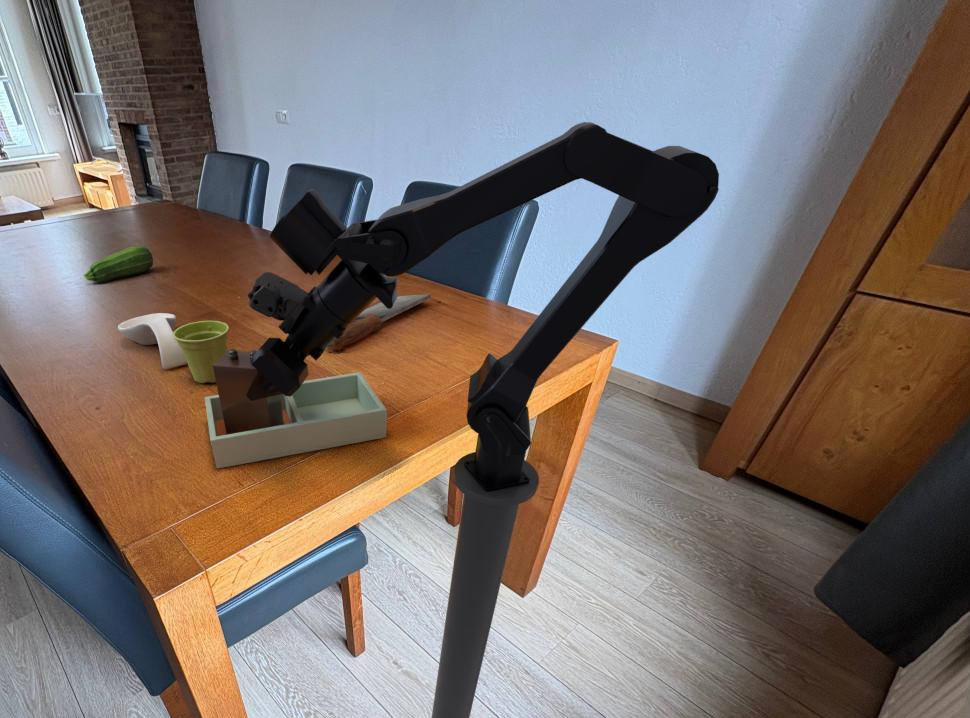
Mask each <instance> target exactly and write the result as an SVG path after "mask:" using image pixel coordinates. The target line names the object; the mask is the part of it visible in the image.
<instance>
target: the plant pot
mask: <svg viewBox="0 0 970 718" xmlns="http://www.w3.org/2000/svg"><path fill="white" fill-rule="evenodd" d="M229 331H230V327H229V325H228V324H227V323H226V322H223V321H220V320H219V321H218V320H201V321H195V322H189V323H186V324H183V325H181V326H179V327H178V328H176V329H174V330H173V337H174V339H176V340H177V342H178V344H179V346H180V347H181V348H182V350H183V353H184V355H185V358H186V360H187V363H186V364H187V366H188V368H189V371H190V373H191V376H192V378H193V380H194V381H195V382H197V383H199V384H205V383H212V384H214V383H216V379H215V374H214V370H213V365H214V364H215V363H216V362H217V361H218V360H219V359H220V358H221V357H222V356H223V355H224V354H225V353H226V352H227V351H228V350H227V340H228V332H229Z"/></svg>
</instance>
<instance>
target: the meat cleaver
mask: <svg viewBox="0 0 970 718" xmlns="http://www.w3.org/2000/svg"><path fill="white" fill-rule="evenodd" d="M431 297H432V294H431V293H425V294H413V295H412V294H411V295H397V299H396V301H395V303H394V305H393V307H392V308H391V309H388V308H386V307H385V305H384V304H383V303H382V302H381V301H380V302H379V303H376V304H374V305H371V306H370V307H367V308H366V309H365V310H364V311H363V312H362V313H361V314H360V315H359V316H358V317H357V318H356V319H355V320H354V321H353V322H352V323H351V324H350V325H349V326H348V327H347V329H346V330H345V332H344V333H343V335H342V336H341V337H340V338H339V339H337V338H336V339H335V340H334V341H333V342H332V343H331V344H330V345H329V346H328V347H327V348H328V350H330V351H335V352H339V351H341V350H342V349H343V347H346V346H350V345H351V344H353V343H355V342H357V341H359V340H361V339H363V338H365V337H367V336H368V335H370V334H371V333H376V332H377V331H379V329H380V327H381V325H382V323H383V322H385V321H387V320H389V319H392V318H393V317H396V316H397V315H399V314H402V313H404V312H406V311H408V310H409V309H412V308H413V307H416V306H418V305H420V304H422V303H424V302H426V301H428V300H430V299H432V298H431Z"/></svg>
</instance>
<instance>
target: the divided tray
mask: <svg viewBox="0 0 970 718" xmlns="http://www.w3.org/2000/svg"><path fill="white" fill-rule="evenodd" d="M280 396H281V404H282V412H283V420H284V425H280V426H274V427H268V428H262V429H257V430H251V431H245V432H239V433H234V434H228V435H227V433H226V428H225V424H224V419H223V414H222V409H221V404H220V399H219V394H214V395H209V396H204V403H205V410H206V419H207V424H208V432H209V433H208V434H209V439H210V440H209V441H210V444H211V449H212V454H213V458H214V462H215V466H216V469H222V468H223V469H224V468H227V467H234V466H240V465H244V464H250V463H255V462H256V463H257V462H261V461H266V460H272V459H277V458H282V457H289V456H291V455H292V456H293V455H299V454H305V453H309V452H315V451H320V450H324V449H330V448H336V447H341V446H347V445H353V444H357V443H363V442H368V441H374V440H378V439H380V440H381V439H384V438H387V429H388V426H387V425H388V423H387V422H388V409H387V408H386V406H385V405H384V403H383V402H382V401H381V399H380V397H378V395H377V393H376V392H375V391H374V389H373V388H372V387H371V385H370V384H369V383H368V381H367V379H366V378H365V377H364V376H363V374H362V372H360V371H359V372H353V373H345V374H340V375H333V376H328V377H321V378H316V379H309V380H305V381H304V382H303V384H302V385H301V387H300V388H299V389H298V390H297V391H296V392H295V393H294V394H293V395H292V396H291V397H289V396H285V395H284V394H280Z"/></svg>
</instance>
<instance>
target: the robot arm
mask: <svg viewBox="0 0 970 718" xmlns="http://www.w3.org/2000/svg"><path fill="white" fill-rule="evenodd" d="M581 179H582V180H584V181H587V182H590V183H592V184H594V185H596V186H598V187H599V188H602V189H604V190H607V191H609V192H611V193H613V194H615V195H617V198H616V200H615V202H614V204H613V206H612V208H611V210H610V213H609V216H608V218H607V220H606V223H605V224H604V227H603V229H602V232H601V234H600V235H599V237H598V239H597V241H596V242H595V243H594V245H593V246H591V248H590V249H589V251H588V252H587V253H586V255H585V256H584V257H583V258H582V260H580V262H579V264H578V265H577V266H576V268H575V269H574V270H573V271H572V273H571V274H570V275H569V276H568V277H567V279H566V280H565V282H564V283H563V284H562V285H561V286H560V288H559V289H558V291H556V293H555V294H554V295H553V297H552V298H551V299H550V300H549V302H548V303H547V304H546V305H545V307H544V308H543V310H542V311H541V312H540V313H539V315H538V316H537V317H536V318H535V320H534V321H533V323H532V324H531V325H530V326H529V327H528V329H527V330H526V331H525V332H524V334H523V335H522V336H521V338H520V339H519V340H518V341H517V343H516V344H515V346H513V348H512V349H511V350H510V351H509V352H507V353H505V354H504V355H503V356H501V357H500V358H498V359H497V358H496V357H495V356H494V355H493V354H491V353H488V354H487V355H486V356H485V359H484V360H483V362H482V364H481V365H480V367H479V369H478V370H477V371H476V372H474V373H473V374H471V375H470V376H469V384H468V393H467V408H466V421H467V425H468V426H469V427H470V429H471V430H472V431H474V432H475V433H476V434H477V438H476V439H477V440H476V447H475V451H474V452H475V460H471V461H466V462H465V463H464V467H465V468H466V469H467V470H468V471H469V473H470V474H471V475H472V476H473V478H474V479H475V480H476V481H477V482H478V484H479V485H480V486H481V487H482V489H483V490H484V491H486V492H490V491H495V490H500V489H504V488H509V487H514V486H518V485H523V484H528V483H529V481H530V478H529V477H528V476H527V475H526V474H525V473H524V472H523V471H522V468H523V463H524V460H526V459H525V458H526V455H527V451H528V449H529V448H530V446H531V445H532V438H531V426H530V424H531V423H530V413H529V412H530V411H529V407H528V406H527V405H528V402H529V401H530V398H531V396H532V394H533V391H534V389H535V387H536V384H537V382H538V380H539V378H540V377H541V376H542V374H543V373H544V372H545V371H546V370H547V369H548V368H549V367H550V365H552V363H553V362H554V360H555V359H556V358H557V357H558V356H559V355H560V354H561V352H563V350H564V349H565V348H566V347H567V345H568V344H569V343H570V342H571V341H572V340H573V338H575V336H576V335H577V334H578V333H579V332H580V330H582V328H583V327H584V326H585V325H586V323H588V321H589V320H590V319H591V317H593V315H594V314H595V313H596V312H597V311H598V310H599V308H601V306H602V305H603V304H604V303H605V301H607V299H608V298H609V297H610V296H611V294H612V293H613V292H614V290H616V288H617V287H618V286H619V285H620V284H621V283H622V282H623V281H624V279H625V278H626V277H627V276H628V275H629V273H630V272H631V271H632V270H633V269H634V268H635V267H637V265H639V264H640V263H641V262H642V261H645V260H646V259H647V258H649V257H650V256H652V255H653V254H655V253H656V252H659V251H660V250H661V249H662V248H664V247H666V246H667V245H669V244H670V243H672V242H673V241H674V240H676V239H677V237H679V236H680V235H681V234H682V233H683V232H684V231H686V230H687V229H689V227H690V226H692V224H694V222H696V221H697V220H698V219H699V218H700V217H702V215H704V214H705V213H706V211H708V210H709V208H710V206H711V205H712V204H713V203H714V201H715V199H716V197H717V195H718V193H719V183H720V181H719V180H720V173H719V170H718V167H717V164H716V163H715V162H714V161H713V160H712V159H711V158H710V156H708V155H705V154H703V153H699V152H697V151H694V150H691V149H689V148H687V147H683V146H681V145H667V146H664V147H660V148H658V149H656V150H652V149H649V148H647V147H644V146H641V145H639V144H637V143H635V142H632V141H629V140H626V139H625V138H623V137H619V136H617V135H614V134H612V133H610V132H608V131H607V130H606V128H604V127H602V126H600V125H598V124H596V123H594V122H591V121H589V122H588V121H583V122H580V123H576V124H575V125H573V126H571V127H570V128H569V129H567V131H565V132H564V133H563V134H561V135H560V136H557V137H555V138H553V139H551V140H550V141H549V140H548V141H547V142H545V143H544V144H542V145H539V146H538V147H535V148H534V149H531V150H530V151H527V152H526V153H524V154H521V155H520V156H518V157H515V158H513V159H512V160H509V161H508V162H506V163H504V164H502V165H500V166H498V167H496V168H493V169H491V170H489V171H488V172H486V173H484V174H482V175H480V176H478V177H476V178H474V179H472V180H471V181H469V182H466V183H464V184H462V185H460V186H458V187H457V188H454V189H453V190H450V191H448V192H445V193H441V194H438V195H434V196H428V197H423V198H420V199H416V200H413V201H409V202H406V203H403V204H399V205H397V206H393V207H390V208H388V209H387V210H385V212H383V213H382V214H381V215H380V216H379V217H378V218H377V219H372V220H371V219H370V220H365V221H357V222H353V223H351V224H350V225H349V226H348V227H347V226H346V225H345V224H344V223H343V221H341V219H339V217H338V216H337V215H336V214H335V213H334V212H333V211H332V209H331V208H329V206H328V205H327V204H326V203H325V201H324V199H323V197H322V196H321V195H320V194H319V193H318V192H317V190H315V189H313V188H312V189H309V190H308V191H306V192H305V194H304V195H303V196H302V198H301V199H300V200H298V202H296V204H294V206H293V207H292V208H291V209H290V210H289V211H288V212H287V213H286V214H284V215H283V216H281V218H280V219H279V221H278V222H276V224H275V226H274V227H273V228H272V230H271V232H270V234H269V239H270V240H271V241H272V242H274V244H275V245H276V246H277V247H278V248H279V249H280V250H281V251H282V252H283V253H284V254H285V255H286V256H287V257H288V259H290V260H291V261H292V262H293V263H294V264H295V266H297V267H298V268H299V269H300V270H301V271H302V272H303V273H304V274H305V275H307V274H309V275H310V276H313V274H314V273H317V275H318V276H320V275H321V274H322V273H323V272H324V271H325V269H327V268H328V266H329V265H330V264H331V263H332V262H333V261H334V259H336V257H337V256H338V257H339V259H340V261H339V262H338V263H337V264H336V265H335V266H334V268H333V269H332V270H331V271H329V273H328V274H327V275H326V277H325V278H323V280H322V281H321V282H320V283H319V284H318V285H317V286H316V285H314V286H313V287H312V288H311V289H310V290H309V292H308V291H306V290H304V289H303V288H301V287H300V286H299V285H297V284H296V283H293V282H291V281H290V280H287V279H285V278H284V277H282V276H280V275H278V274H276V273H273V272H270V271H265V272H264V273H262V274H261V275H260V276H258V277H257V278H256V279H255V281H254V284H253V287H252V290H250V291H249V292H248V293H247V297H248V299H249V302H248V306H249V308H250V309H252V310H254V312H257V313H259V314H261V315H263V316H264V317H267V318H273V319H275V320H277V321H281V323H280V324H279V325H278V327H277V328H278V329H280V330H281V331H282V332H283V333H284V334H285V335H287V336H286V338H285V339H284V340H283V339H282V338H281V337H268V338H267V339H266V340H265V342H263V344H262V345H261V346H260V347H259V348H258V349H257V350H256V351H257V352H256V353H255V354H254V355H253V356H252V357H251V358H250V361H251V364H252V366H254V367H255V368H256V369H257V374H256V376H255V378H254V380H253V382H252V384H251V386H250V388H249V390H248V392H247V394H246V397H247V398H249V399H250V400H251V401H254V400H258V399H262V398H266V397H270V396H274V395H280V394H284V395H285V396H289V397H291V396H292V395H293V394H294V393H295V392H296V391H297V390H298V389H299V388H300V387H301V385H302V384H303V382H304V381H306V379H307V377H308V376H309V366H308V363H307V362H305V360H306V358H308V357H309V356H310V357H311V358H312V359H313V360H314V361H317V360H318V359H319V358H320V357H322V355H323V354H324V352H325V351H326V349H327V348H328V346H329V345H330V344H331V343H332V342H333V341H334V340H335V339H336V338H337V339H339V338H340V337H341V336H342V335H343V333H344V332H345V330H346V329H347V327H348V326H349V325H350V324H351V323H353V322H355V321H354V320H355V319H356V318H357V317H358V316H359V315H360V314H361V313H362V312H363V311H364V310H365V309H367V308H369V306H370V305H371V304H372V303H373V302H374V301H375V300H377V299H378V300H379V301H380V302H382V303H383V304H384V305H385V307H386V308H388V309H391V308H392V307H393V305H394V303H395V301H396V299H397V296H398V293H397V292H398V289H397V287H398V283H399V279H398V276H401V275H403V274H405V273H406V272H408V271H409V270H411V269H413V268H414V267H415V266H417V265H419V264H420V263H422V262H423V261H424V260H426V259H427V258H428V257H430V256H431V255H433V254H434V253H435V252H436V251H438V250H439V249H440V248H442V247H443V246H444V245H445V244H447V242H449V241H451V240H452V239H453V238H456V237H457V236H458V235H460V234H462V233H463V232H466V231H468V230H470V229H472V228H474V227H477V226H479V225H480V224H483V223H485V222H487V221H490V220H493V219H494V218H496V217H499V216H500V215H503V214H504V213H508V212H509V211H511V210H514V209H515V208H518V207H520V206H522V205H525V204H527V203H528V202H531V201H533V200H535V199H537V198H540V197H542V196H544V195H546V194H548V193H550V192H552V191H554V190H557V189H559V188H561V187H564V186H566V185H568V184H570V183H572V182H574V181H577V180H581Z"/></svg>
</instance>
